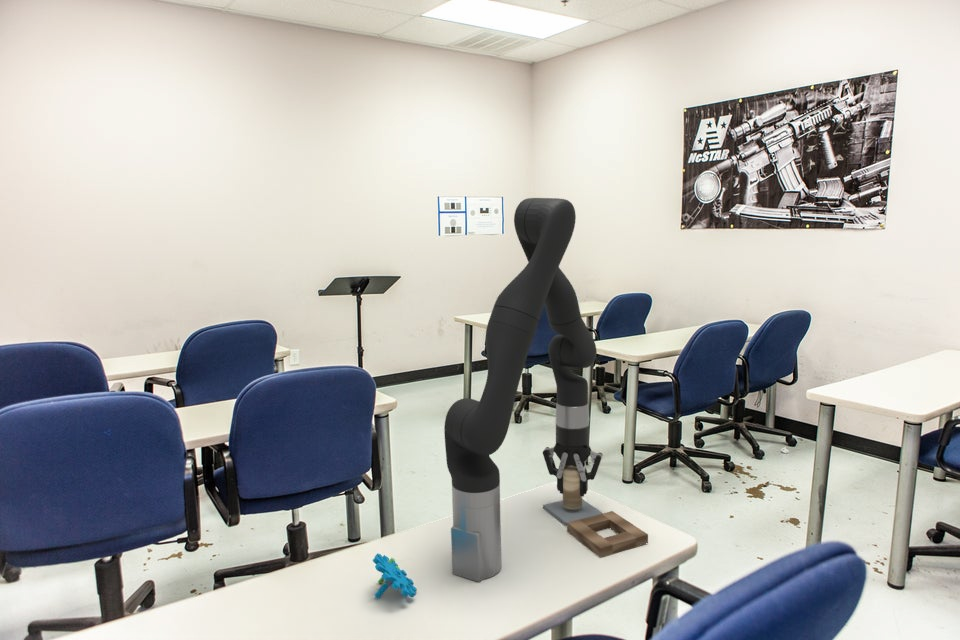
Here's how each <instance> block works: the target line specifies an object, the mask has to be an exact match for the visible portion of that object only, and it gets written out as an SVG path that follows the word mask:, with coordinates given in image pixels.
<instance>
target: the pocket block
mask: <svg viewBox="0 0 960 640" xmlns="http://www.w3.org/2000/svg"><path fill="white" fill-rule="evenodd" d="M602 513H603V514H599V515H595V516H591V517H587V518H583V519H579V520H576V521H572V522H568V523H567V526H566V528H567V530H566V531H567V533H568V534H570V535H571V536H572V537H574V538H575V539H576V540H578V541H579V542H581V544H582V545H584V546H585V547H586V548H588V549H589V550H590V551H591V552H593V553H594V554H595V555H596V556H597V557H598V558H604V557H607V556H612V555H613V554H618V553H620V552H623V551H627V550H631V549H634V548H637V547H640V546H644V544H645V545H647V544H646V543H648V544H649V534H648V533H647V532H645V531H643V530H642V529H640V528H639V527H637V526H636V525H635V524H633V523H632V522H630V521H628V519H627V520H626V519H625V518H623V516H621V515H619V514H618V513H616V512H615V511H613V510H610V511H607V512H602ZM607 528H608V529H610V528H611V529H610V530H611V531H613V530H614V531H613V532H614V533H616V534H613V535H608V536H605V537H603V536H602V535H600V534H599V533H598V532H600V531H603V530H604V531H605V530H607ZM617 533H618V534H617Z"/></svg>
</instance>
